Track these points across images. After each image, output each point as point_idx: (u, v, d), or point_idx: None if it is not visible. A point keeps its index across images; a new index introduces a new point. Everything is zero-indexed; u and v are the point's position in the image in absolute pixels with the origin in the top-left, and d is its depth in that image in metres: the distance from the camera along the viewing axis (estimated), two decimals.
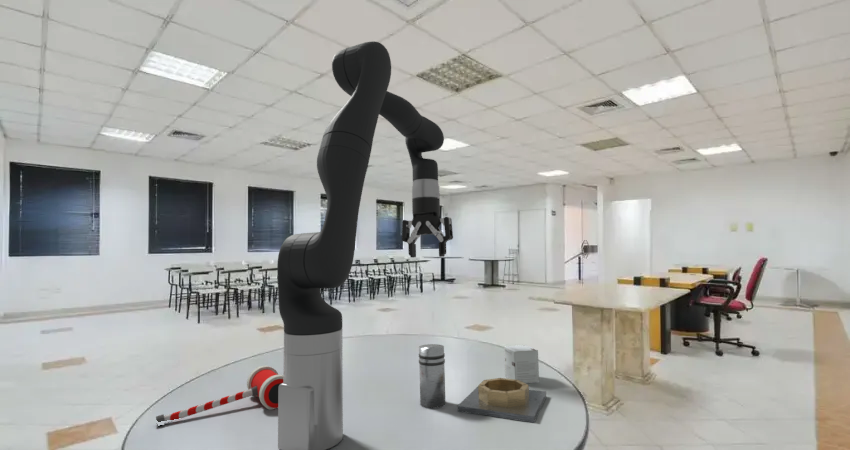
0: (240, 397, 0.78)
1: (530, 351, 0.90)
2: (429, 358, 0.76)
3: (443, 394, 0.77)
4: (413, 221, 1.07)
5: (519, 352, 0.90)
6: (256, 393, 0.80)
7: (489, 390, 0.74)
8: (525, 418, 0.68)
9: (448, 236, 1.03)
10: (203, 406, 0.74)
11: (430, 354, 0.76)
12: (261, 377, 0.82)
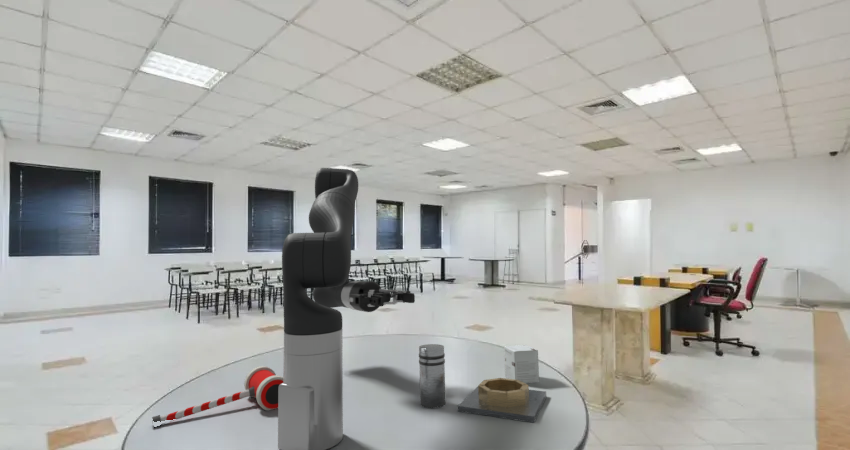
0: (237, 398, 0.78)
1: (530, 351, 0.90)
2: (429, 357, 0.76)
3: (443, 394, 0.77)
4: (362, 293, 0.94)
5: (519, 352, 0.90)
6: (253, 394, 0.79)
7: (489, 390, 0.74)
8: (525, 418, 0.68)
9: (408, 291, 0.97)
10: (200, 407, 0.74)
11: (430, 354, 0.76)
12: (258, 378, 0.81)
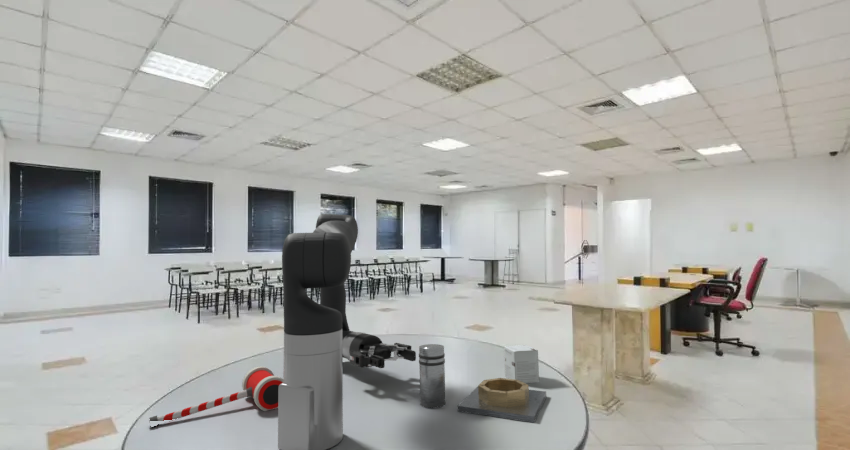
0: (235, 398, 0.78)
1: (530, 351, 0.90)
2: (429, 357, 0.76)
3: (443, 394, 0.77)
4: (363, 350, 0.92)
5: (519, 352, 0.90)
6: (251, 394, 0.79)
7: (489, 390, 0.74)
8: (525, 418, 0.68)
9: (409, 345, 0.95)
10: (197, 407, 0.74)
11: (430, 354, 0.76)
12: (256, 378, 0.81)
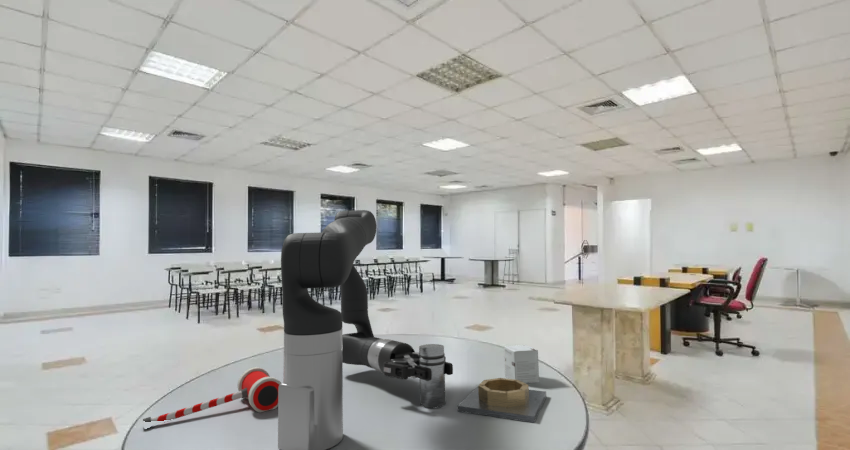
0: (229, 399, 0.77)
1: (530, 351, 0.90)
2: (429, 357, 0.76)
3: (443, 394, 0.77)
4: (395, 360, 0.82)
5: (519, 352, 0.90)
6: (246, 395, 0.79)
7: (489, 390, 0.74)
8: (525, 418, 0.68)
9: None
10: (191, 408, 0.73)
11: (430, 354, 0.76)
12: (251, 379, 0.80)
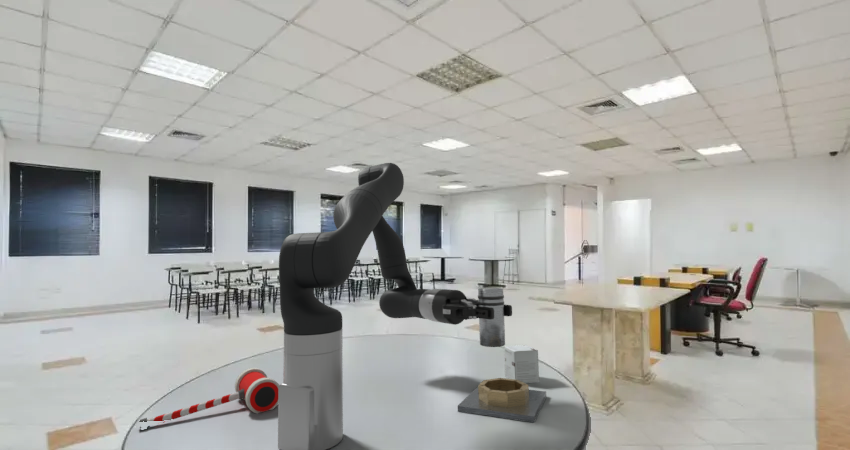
0: (226, 400, 0.77)
1: (530, 351, 0.90)
2: (491, 297, 0.77)
3: (503, 334, 0.78)
4: (452, 304, 0.83)
5: (519, 352, 0.90)
6: (243, 396, 0.78)
7: (489, 390, 0.74)
8: (525, 418, 0.68)
9: None
10: (188, 409, 0.73)
11: (491, 294, 0.77)
12: (249, 380, 0.80)
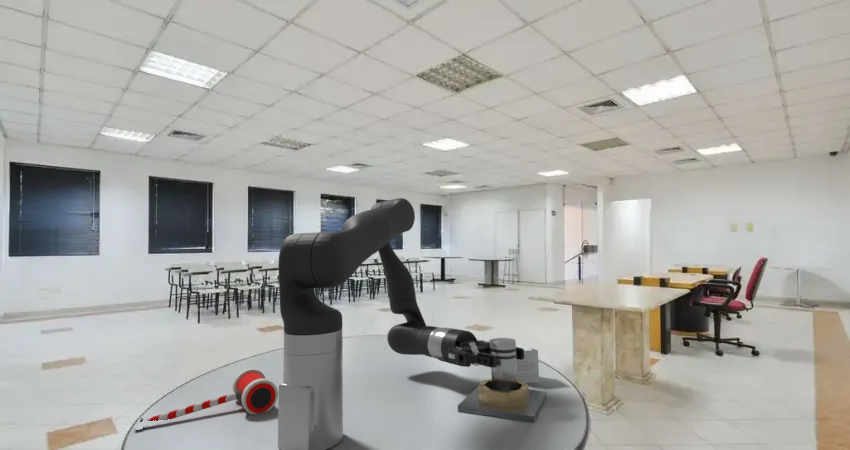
0: (223, 401, 0.76)
1: (530, 351, 0.90)
2: (503, 351, 0.76)
3: (517, 388, 0.76)
4: (461, 347, 0.82)
5: None
6: (240, 397, 0.78)
7: (489, 390, 0.74)
8: (525, 418, 0.68)
9: None
10: (184, 410, 0.73)
11: (504, 347, 0.76)
12: (246, 380, 0.79)
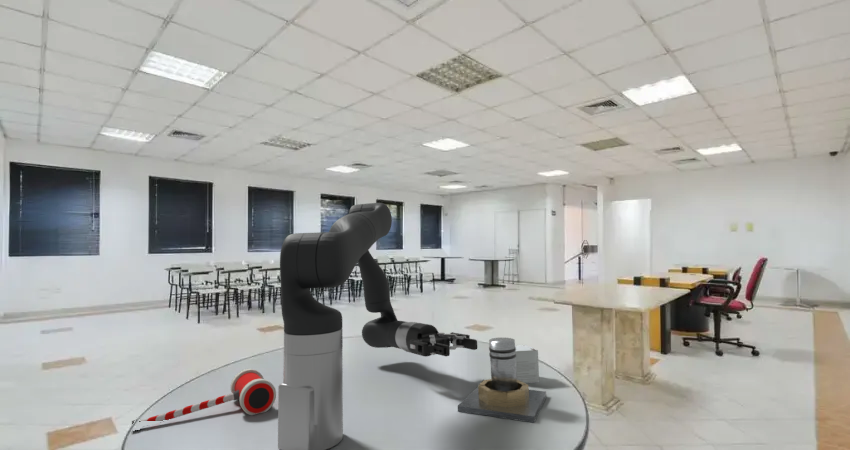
0: (221, 401, 0.76)
1: (530, 351, 0.90)
2: (503, 351, 0.75)
3: (516, 387, 0.76)
4: (422, 339, 0.91)
5: (519, 352, 0.90)
6: (238, 397, 0.77)
7: (489, 390, 0.74)
8: (525, 418, 0.68)
9: (467, 335, 0.94)
10: (182, 410, 0.72)
11: (503, 348, 0.76)
12: (244, 381, 0.79)
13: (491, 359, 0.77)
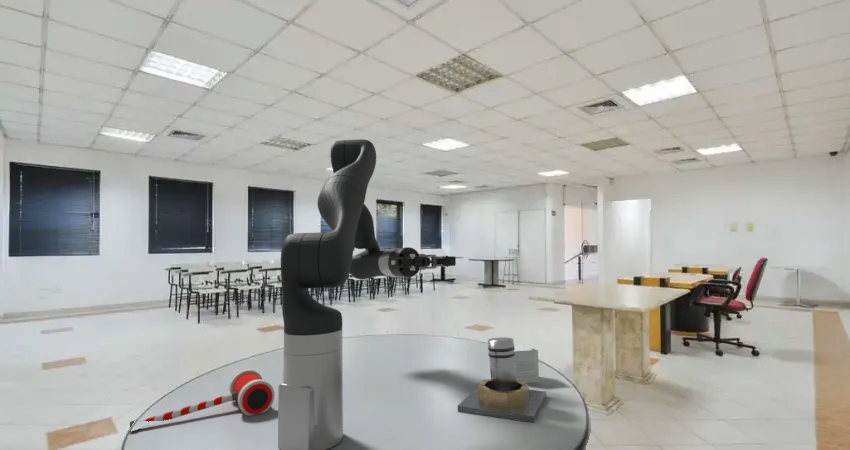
0: (219, 402, 0.76)
1: (530, 351, 0.90)
2: (503, 350, 0.76)
3: (516, 386, 0.77)
4: None
5: (519, 352, 0.90)
6: (236, 398, 0.77)
7: (489, 390, 0.74)
8: (525, 418, 0.68)
9: None
10: (180, 411, 0.72)
11: (503, 346, 0.76)
12: (242, 381, 0.79)
13: (491, 358, 0.77)
